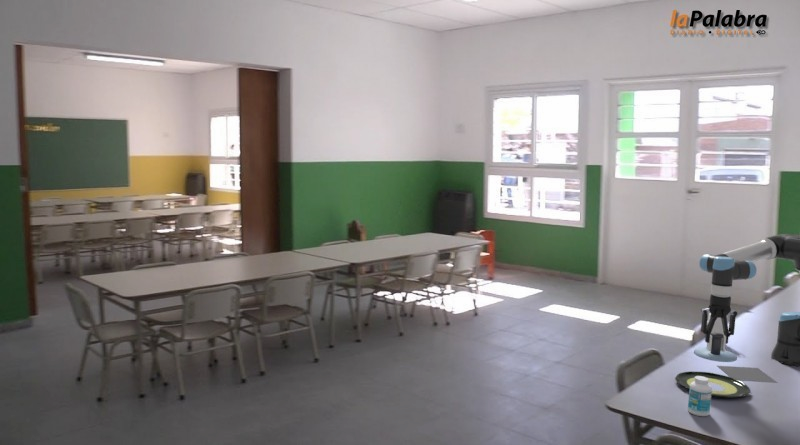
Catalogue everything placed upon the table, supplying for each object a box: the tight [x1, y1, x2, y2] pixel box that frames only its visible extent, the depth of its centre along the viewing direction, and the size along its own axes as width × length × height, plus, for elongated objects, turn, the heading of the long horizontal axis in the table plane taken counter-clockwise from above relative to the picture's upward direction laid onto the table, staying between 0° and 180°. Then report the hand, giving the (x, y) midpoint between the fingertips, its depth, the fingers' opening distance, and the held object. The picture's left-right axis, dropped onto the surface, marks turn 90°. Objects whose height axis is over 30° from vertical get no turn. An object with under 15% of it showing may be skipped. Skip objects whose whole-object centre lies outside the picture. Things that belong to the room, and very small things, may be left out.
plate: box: [674, 371, 751, 399], centre depth 264 cm, size 28×28×2 cm
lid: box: [693, 332, 738, 363], centre depth 262 cm, size 16×16×9 cm
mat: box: [716, 365, 778, 384], centre depth 280 cm, size 18×18×1 cm
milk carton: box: [707, 311, 729, 335], centre depth 324 cm, size 7×7×19 cm
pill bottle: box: [687, 376, 713, 417], centre depth 237 cm, size 8×7×14 cm
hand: (715, 350), depth 262 cm, fingers closed on lid, 5 cm apart
